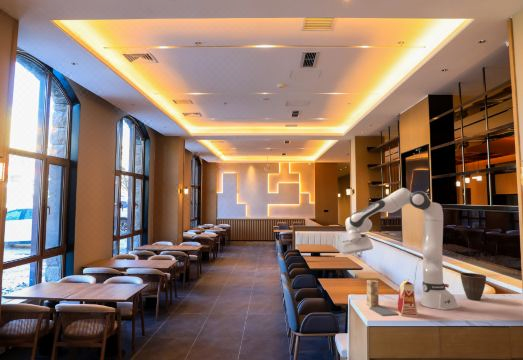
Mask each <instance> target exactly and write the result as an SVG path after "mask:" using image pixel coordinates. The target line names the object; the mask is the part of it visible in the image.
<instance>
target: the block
mask: <svg viewBox="0 0 523 360" xmlns="http://www.w3.org/2000/svg"><path fill="white" fill-rule="evenodd" d="M379 302H380V301H379V281H378V280H375V279H367V280H366V305H367V306H369V307H380V305H379Z"/></svg>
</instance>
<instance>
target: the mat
mask: <svg viewBox="0 0 523 360" xmlns="http://www.w3.org/2000/svg"><path fill="white" fill-rule="evenodd" d="M369 310H371V311H373V312H375V313H376V314H378V315H380V316H382V317H384V316H388V317H389V316H399V312H395V311H394V310H392V309H390V308H388V307H387V306H379V307H370V306H369Z"/></svg>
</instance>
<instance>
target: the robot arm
mask: <svg viewBox="0 0 523 360" xmlns="http://www.w3.org/2000/svg"><path fill="white" fill-rule="evenodd" d="M409 204H410V205H411V206H412V207H414V208H416V209H418V210H422V212H423V226H422V227H423V228H422V230H423V231H422V248H421V253H422V276H423V277H422V279H423V281H422V297H421V302H420V305H421V306H424V307H426V308H430V309H435V310H437V309H438V310H443V311H448V310H453V309H459V308H460V309H461V305H460V304H459V303H457V302H456V297H455V295H454V294H452V293H451V292H449V291H448V290H447V289H448V288H450V285H449V284H447V283H444V275H443V274H444V273H443V272H444V271H443V270H444V269H443V240H444V239H443V237H444V211H443V207H442V205H441V204H440V203H438V202H433V201H431V200H430V197H429V196H428V194H427V193H426V192H424V191H422V190H420V191H419V190H418V191H414V192H411V191H410V190H409V189H407V188H405V187H401V188H399V189H397V190H395V191H393V192H392V193H390V194H388V195H387V196H386V197H383V198H382V199H380V200H376V201H375V202H372V203H371V204H369V205H367V206H366V207H365V208H362V209H361V210H359V211H355V212H353V213H352V214H351V215H350V216H349V217H347V218H346V219H345V222H344V223H345V229H346V230H345V231H346V232H347V238H348V240H344V241H342V242H341V243H340V247H341V248H342V249H341V250H342V253H343V255H344V256H345V255H351V254H354V255H355V256H356V257H357V259H361V258H363V256H362V255H363V252H364V251H365V252H366V251H371V250H373V249H374V246H373V244H372V243H373V242H372V241H371V239H370V238H369V236H368V233H367V234H366V232H369V231H370V230H372V228H373V222H372V220H370V219H369V217H372V215H375V214H377V213H381V212H383V213H388V214H391V213H392V214H393V213H395V212H397V211H399V210H400V209H401V208H403V207H405V206H406V205H409ZM357 253H360V254H357Z"/></svg>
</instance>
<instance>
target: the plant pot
mask: <svg viewBox="0 0 523 360" xmlns="http://www.w3.org/2000/svg"><path fill="white" fill-rule="evenodd" d="M459 274H460V280H461V285H462V288H463V292H464V294H465V297H466V298H467V300H470V301H478V302H479V301H481V299H482V296H483V294H484V291H485V288H486V287H485V286H486V282H487V276H486V274H485V275H484V274H481V273H473V272H461V273H459Z"/></svg>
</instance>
